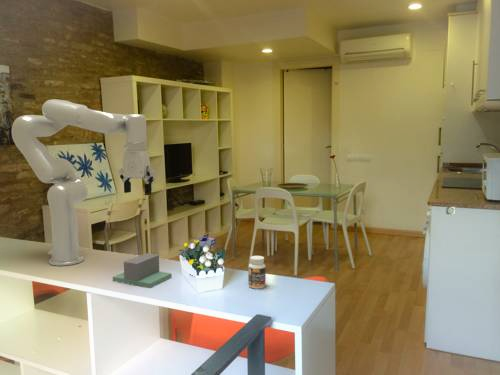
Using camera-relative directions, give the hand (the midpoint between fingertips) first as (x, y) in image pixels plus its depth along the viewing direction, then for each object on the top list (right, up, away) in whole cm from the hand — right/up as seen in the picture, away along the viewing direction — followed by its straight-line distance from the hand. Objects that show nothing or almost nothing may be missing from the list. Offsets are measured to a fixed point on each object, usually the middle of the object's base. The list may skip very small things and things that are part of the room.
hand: (137, 193), depth 167 cm
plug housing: (+5, -29, -12) cm, 31 cm away
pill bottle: (+45, -31, -19) cm, 58 cm away
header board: (+5, -30, -12) cm, 33 cm away
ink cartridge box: (+25, -29, -4) cm, 39 cm away
